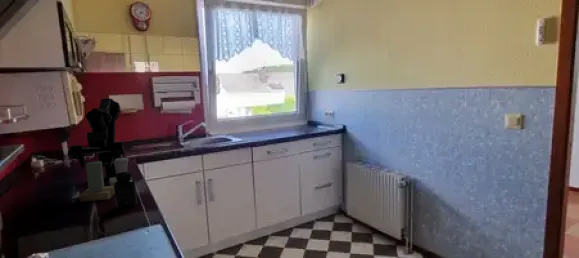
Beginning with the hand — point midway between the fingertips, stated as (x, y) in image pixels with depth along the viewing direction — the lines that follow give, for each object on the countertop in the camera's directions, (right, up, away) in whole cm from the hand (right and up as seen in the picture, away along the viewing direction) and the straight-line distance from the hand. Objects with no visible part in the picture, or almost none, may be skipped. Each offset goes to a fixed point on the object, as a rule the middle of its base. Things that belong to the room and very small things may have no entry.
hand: (96, 167), depth 129 cm
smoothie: (-2, -8, +24) cm, 26 cm away
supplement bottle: (+17, -13, -11) cm, 24 cm away
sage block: (0, -9, +1) cm, 9 cm away
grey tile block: (+3, -10, +13) cm, 17 cm away
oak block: (0, -12, +1) cm, 12 cm away
